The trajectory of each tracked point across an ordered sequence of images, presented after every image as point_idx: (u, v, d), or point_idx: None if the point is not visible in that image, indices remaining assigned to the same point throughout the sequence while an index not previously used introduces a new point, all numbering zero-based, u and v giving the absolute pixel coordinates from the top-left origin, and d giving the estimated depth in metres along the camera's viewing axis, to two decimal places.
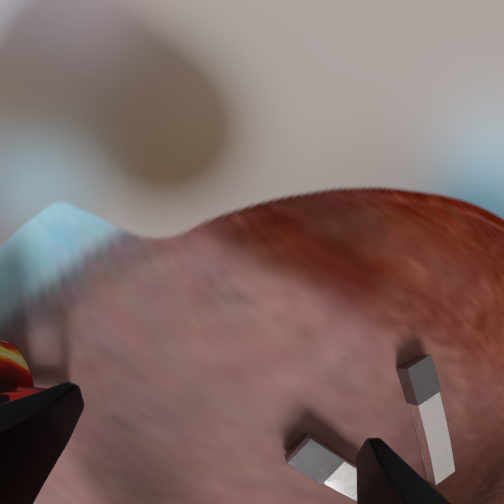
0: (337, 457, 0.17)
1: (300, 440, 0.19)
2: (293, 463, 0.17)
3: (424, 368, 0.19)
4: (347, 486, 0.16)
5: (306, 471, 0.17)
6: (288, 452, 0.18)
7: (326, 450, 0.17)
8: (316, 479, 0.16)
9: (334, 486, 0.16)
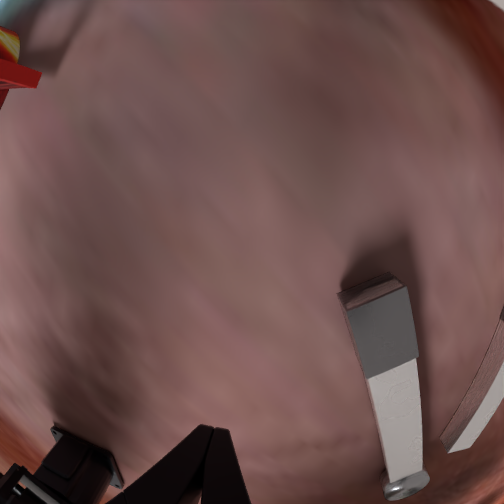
0: (415, 344, 0.11)
1: (378, 281, 0.12)
2: (355, 318, 0.10)
3: None
4: (388, 400, 0.11)
5: (363, 344, 0.11)
6: (348, 293, 0.12)
7: (411, 322, 0.10)
8: (365, 366, 0.11)
9: (375, 391, 0.11)
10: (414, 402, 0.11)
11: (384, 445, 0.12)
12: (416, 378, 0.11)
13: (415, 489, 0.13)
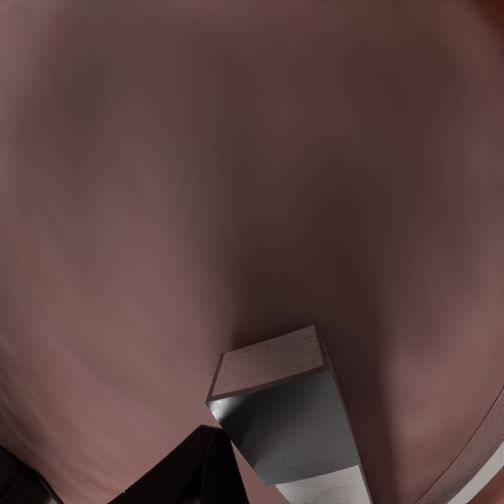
0: (353, 450, 0.05)
1: (290, 343, 0.07)
2: (224, 413, 0.05)
3: None
4: (315, 502, 0.06)
5: (249, 448, 0.06)
6: (235, 360, 0.07)
7: (344, 423, 0.05)
8: (261, 473, 0.06)
9: (290, 495, 0.06)
10: (359, 502, 0.06)
11: None
12: (360, 482, 0.06)
13: None
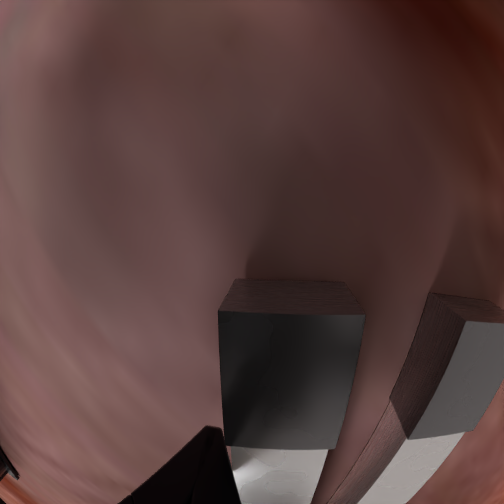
0: (336, 429, 0.05)
1: (316, 288, 0.06)
2: (232, 331, 0.05)
3: (495, 352, 0.05)
4: (259, 484, 0.06)
5: (234, 388, 0.05)
6: (252, 286, 0.06)
7: (346, 389, 0.05)
8: (229, 427, 0.06)
9: (240, 466, 0.06)
10: (300, 500, 0.06)
11: None
12: (316, 474, 0.06)
13: None
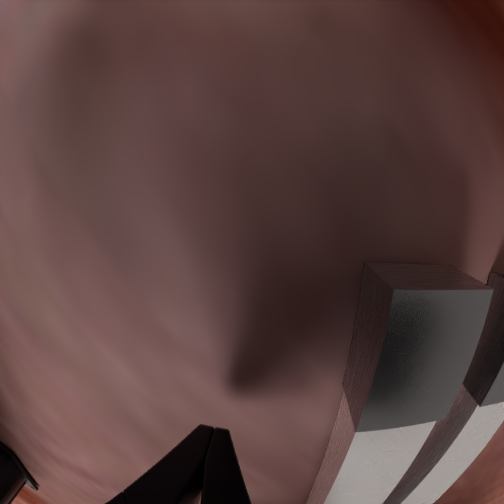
0: (453, 398, 0.05)
1: (438, 269, 0.06)
2: (402, 310, 0.05)
3: None
4: (363, 470, 0.06)
5: (387, 369, 0.05)
6: (388, 267, 0.06)
7: (469, 358, 0.05)
8: (368, 411, 0.05)
9: (354, 453, 0.06)
10: (391, 480, 0.06)
11: None
12: (417, 449, 0.06)
13: None
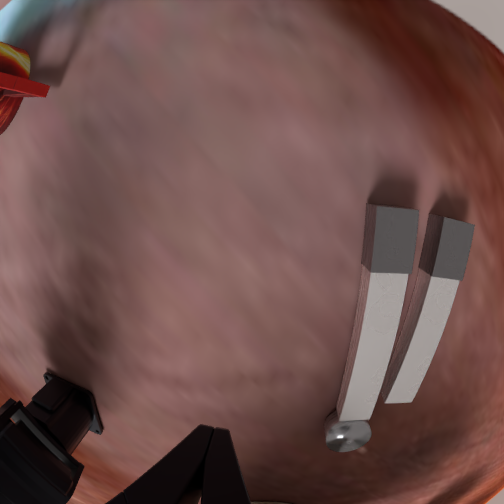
0: (412, 260, 0.15)
1: (397, 206, 0.15)
2: (380, 213, 0.14)
3: (461, 234, 0.14)
4: (377, 307, 0.16)
5: (378, 238, 0.14)
6: (376, 204, 0.15)
7: (414, 240, 0.14)
8: (374, 259, 0.15)
9: (371, 291, 0.15)
10: (394, 322, 0.16)
11: (355, 361, 0.16)
12: (402, 296, 0.15)
13: (354, 444, 0.18)
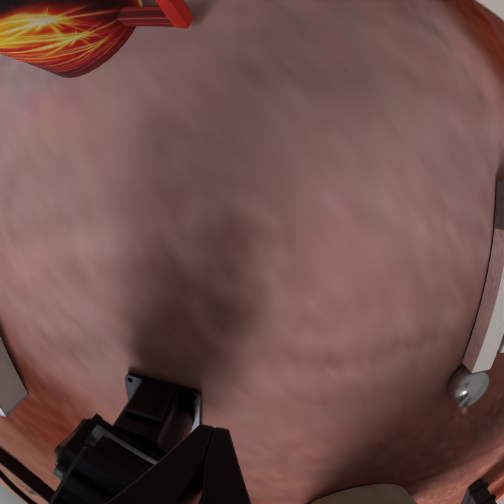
0: None
1: None
2: None
3: None
4: None
5: None
6: None
7: None
8: None
9: None
10: None
11: (493, 311, 0.15)
12: None
13: (475, 397, 0.17)
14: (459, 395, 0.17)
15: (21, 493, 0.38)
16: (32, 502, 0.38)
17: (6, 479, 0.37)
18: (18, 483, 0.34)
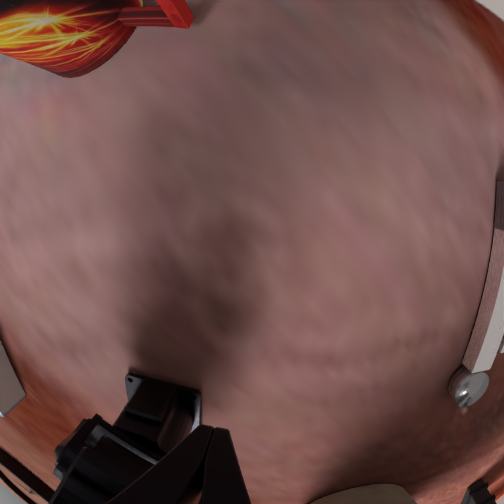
0: None
1: None
2: None
3: None
4: None
5: None
6: None
7: None
8: None
9: None
10: None
11: (493, 311, 0.15)
12: None
13: (474, 397, 0.17)
14: (459, 395, 0.17)
15: (21, 493, 0.37)
16: (32, 502, 0.38)
17: (6, 479, 0.37)
18: (18, 483, 0.34)
